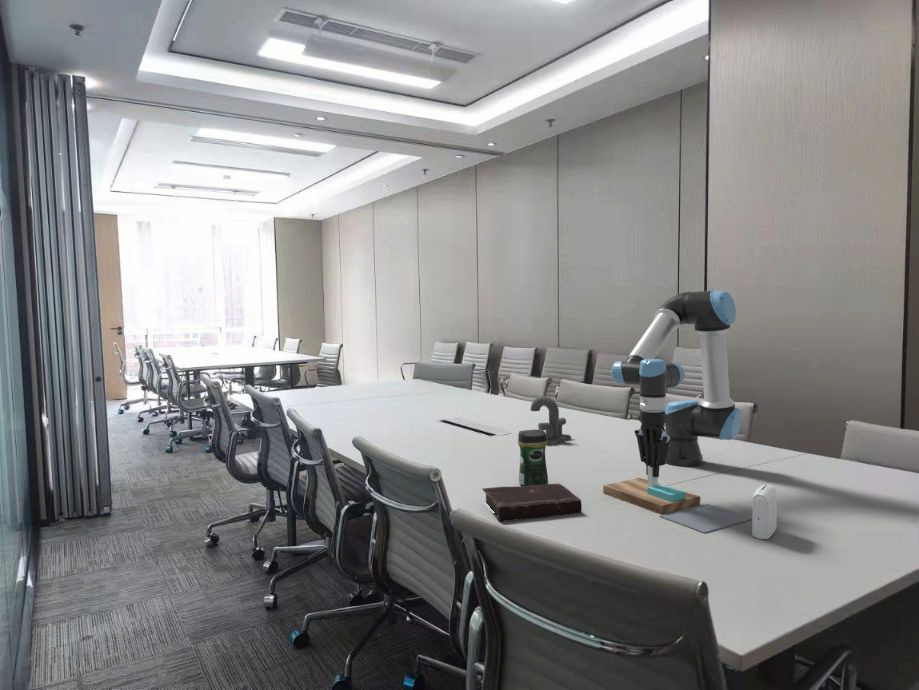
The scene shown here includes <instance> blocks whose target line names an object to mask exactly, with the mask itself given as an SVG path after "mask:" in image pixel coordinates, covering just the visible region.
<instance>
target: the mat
mask: <svg viewBox="0 0 919 690" xmlns="http://www.w3.org/2000/svg"><path fill="white" fill-rule="evenodd" d="M659 517H660V518H661V517H662V519H664V518H665V519H664V520H668V521H669V522H672V521H673V522H672V523H675V524H677V525H680V524H681V525H680V526H683V527H686V528H687V529H688V528H689V529H691V530H693V531H697V532H699V533H701V534H707V533H712V532H715V531H717V530H721V529H725V528H728V526H729V527H732V526H735V525H739V524H741V522H742V523H746V522H749V521H752V520H751V519H752V517H751V516H748V515H745V514H742V513H740V512H739V513H738V512H735V511H733V510H730V509H727V508H723V507H720V506H717V505H713V504H710V503H704V504H700V505H697V506H693V507H689V508H685V509H682V510H678V511H674V512H670V513H666V514H660V515H659ZM748 520H749V521H748ZM745 521H746V522H745ZM738 523H739V524H738ZM731 525H732V526H731Z"/></svg>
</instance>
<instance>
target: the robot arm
mask: <svg viewBox="0 0 919 690" xmlns="http://www.w3.org/2000/svg"><path fill="white" fill-rule="evenodd" d="M736 314H737V308H736V304H735V300H734V298H733V296H732V295H731V294H730V292H728V291H724V290H704V291H703V290H701V291H684V292H680V293H678V294H675V295H673V296H671V297H670V298H668V299H666V301H664V302H663V303H662V304H661V305H660V306H659V307H658V308H657V310H656V311H655V313H654V315H653V321H652V322H651V323H650V325H649V326H648V327H647V328H646V330H645V332H644V333H643V335H642V336H641V337H640V339H639V340H638V342H637V343H636V344H635V346H634V347H633V349H632V350H631V351H630V354H629V355H628V356H627V357H626V359H625V360H624V361H623V360H621V361H615V362H614V363H613V364H612V367H611V377H612V380H613V382H614V383H616V384H621V385H625V386H639V409H640V411H639V423H641V424H640V428H639V429H636V430H634V435H635V437H636V440H637V445H638V452H639V458H640V461H641V462H642V463H644V464H645V468H646V472H645V474H646V476H647V480H648V487H652V486H657V485H658V484H659V481H658V480H659V477H660V467H661V466H665V464H668V465H671V466H683V467H695V466H699V465H700V466H701V465H702V464H703V462H704V458H703V455H702V452H701V448H700V445H699V441H698V440H699V438H698V437H700V438H709V439H715V440H719V441H722V440H723V441H725V440H726V441H732V440H734V439H735V438H736V437H737V436H738V434H739V431H740V430H741V425H742V420H743V413H742V410H741V409H740V408H738V407H736V405H735V404H736V403H735V401H734V400H733V399H731V396H730V381H729V379H730V378H729V365H728V364H729V363H728V349H727V332H728V331H729V330H731V325H732V324H734V323H735V321H736ZM683 325H693V326H694V331H695V332H696V333H697V334H698V335H699V346H700V347H699V349H700V361H701V374H702V377H701V378H702V389H703V390H702V391H703V398H702V399H701V401H700V402H699V401H698V400H695V399H688V400H687V399H686V400H675V401H671V402H668V403H666V402H667V401H666V400H667V398H666V395H667V394H666V392H667V391H666V390H667V389H670V388H675V387H676V386H679V385H681V384H682V383H683V382H684V379H685V371H684V370H685V369H684V368H683V367H682V366H681V365H680V364H678V363H676V362H667V363H666V360H664V359H661V358H660V359H659V358H658V359H657V358H656V357H657V355H658V354H659V352H660V351H661V349H662V348H663V347H664V345H665V344H666V342H667V340H668V339H669V337H670V336H671V334H672V333H673V332H674V331H676V330H678V329H679V327H680V326H683Z"/></svg>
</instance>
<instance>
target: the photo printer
mask: <svg viewBox="0 0 919 690" xmlns="http://www.w3.org/2000/svg"><path fill="white" fill-rule="evenodd" d="M777 497H778V494H777V490H776V488H775V487H774V486H772V485H770V484H762V485H760V486H758V488H756V490H755V492H754V493H753V496H752V520H751V521H752V528H751V529H752V533H751V534H752V537H754V538H755V537H756V538H755V539H758V538H759V539H758V540H763V539H766V540H768V539H770V538H771V536H772V535H774V533H775V532H776V530H777V519H778V516H777V515H778V513H777V512H778V509H777V507H778V506H777V505H778V504H777V503H778V498H777Z"/></svg>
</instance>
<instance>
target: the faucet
mask: <svg viewBox="0 0 919 690" xmlns="http://www.w3.org/2000/svg"><path fill="white" fill-rule="evenodd" d="M542 407H545V408H547V409H548V422H538V424H537V427H538V430H540V429H541V430H543V431H545V433H546V438H547V445H546V446H551V445H555V446H556V444H557V445H559V444H562V443H564V442H566V441H565V440H567V441H568V439H569V440H571V439H572V436H571V435H570V434H566V433H563V426H564V425H566V424H567V419H566V418H565V417H560V410H559V406H558V404H557V402H556V401H555V400H554V399H553V398H551V397H549V396H547V395H545V396H542V395H541V396H538V397H536V398H534V400H533V401H532V403H531V405H530V408H529V409H530V411H531V412H540V411H541V408H542ZM570 438H571V439H570ZM563 441H564V442H563ZM561 442H562V443H561ZM558 443H559V444H558Z"/></svg>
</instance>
